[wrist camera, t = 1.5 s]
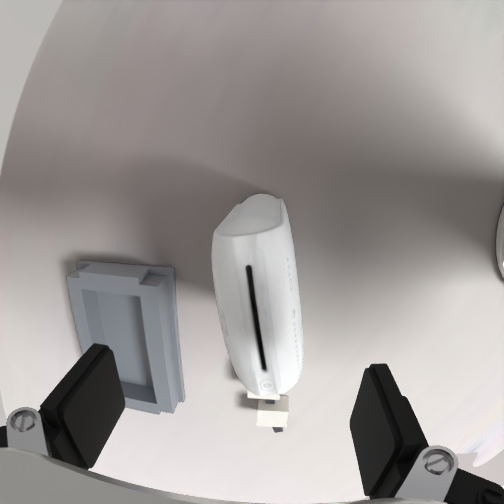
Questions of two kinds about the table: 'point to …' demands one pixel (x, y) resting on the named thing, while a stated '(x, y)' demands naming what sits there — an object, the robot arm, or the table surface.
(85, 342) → the end holder
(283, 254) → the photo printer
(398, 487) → the robot arm
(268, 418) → the white cube chain
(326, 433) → the table surface
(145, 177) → the table surface
